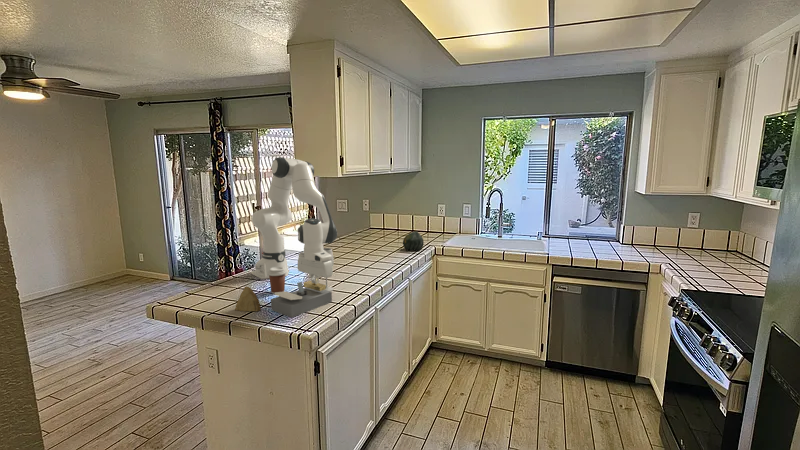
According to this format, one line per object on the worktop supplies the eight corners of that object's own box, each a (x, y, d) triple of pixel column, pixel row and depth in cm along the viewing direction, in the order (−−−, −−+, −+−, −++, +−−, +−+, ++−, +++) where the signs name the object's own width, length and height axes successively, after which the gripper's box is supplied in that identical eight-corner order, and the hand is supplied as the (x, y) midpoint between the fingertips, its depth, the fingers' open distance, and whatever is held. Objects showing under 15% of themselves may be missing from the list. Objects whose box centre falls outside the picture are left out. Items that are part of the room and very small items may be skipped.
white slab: (274, 294, 171) (274, 292, 171) (285, 293, 176) (286, 291, 176) (290, 299, 164) (291, 297, 164) (302, 298, 169) (302, 296, 169)
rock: (268, 304, 173) (257, 295, 179) (256, 292, 167) (246, 284, 174) (248, 323, 168) (239, 313, 175) (236, 312, 163) (227, 302, 170)
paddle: (299, 295, 176) (296, 283, 176) (303, 294, 177) (299, 282, 177) (301, 295, 175) (298, 282, 175) (305, 294, 176) (302, 281, 177)
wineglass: (319, 292, 195) (318, 251, 192) (318, 287, 202) (317, 248, 199) (335, 291, 197) (334, 250, 194) (333, 286, 204) (332, 247, 201)
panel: (271, 310, 172) (270, 295, 171) (311, 295, 190) (311, 282, 189) (291, 317, 164) (291, 302, 163) (331, 301, 182) (331, 287, 181)
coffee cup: (280, 287, 202) (279, 265, 200) (291, 291, 197) (290, 268, 195) (264, 292, 195) (263, 268, 193) (275, 296, 190) (274, 272, 188)
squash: (399, 240, 296) (404, 228, 285) (418, 240, 300) (423, 228, 289) (403, 256, 287) (408, 243, 276) (422, 255, 292) (428, 243, 281)
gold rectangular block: (303, 286, 184) (303, 282, 183) (309, 284, 187) (309, 280, 186) (319, 291, 177) (319, 286, 177) (325, 289, 180) (325, 285, 180)
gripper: (293, 252, 183) (294, 281, 185) (324, 258, 171) (325, 289, 173) (304, 250, 188) (305, 277, 190) (334, 256, 176) (335, 285, 178)
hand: (315, 283), depth 182 cm, fingers closed
